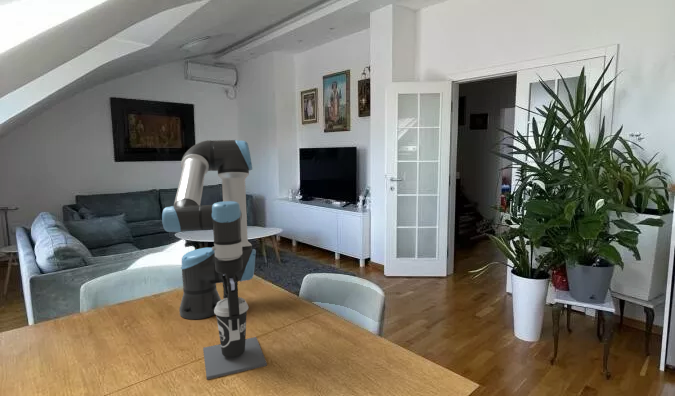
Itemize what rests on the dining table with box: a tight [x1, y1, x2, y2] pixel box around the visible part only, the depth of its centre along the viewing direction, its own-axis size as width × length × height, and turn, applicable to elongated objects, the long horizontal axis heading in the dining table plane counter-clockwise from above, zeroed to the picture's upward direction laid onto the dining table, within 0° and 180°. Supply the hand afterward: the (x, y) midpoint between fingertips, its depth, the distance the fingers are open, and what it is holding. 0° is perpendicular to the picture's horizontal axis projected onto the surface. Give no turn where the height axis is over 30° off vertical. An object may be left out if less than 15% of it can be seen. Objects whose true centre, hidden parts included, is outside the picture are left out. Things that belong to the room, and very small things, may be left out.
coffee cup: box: [214, 296, 249, 357], centre depth 108 cm, size 10×10×15 cm
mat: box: [202, 336, 268, 381], centre depth 109 cm, size 16×16×1 cm
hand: (232, 331), depth 108 cm, fingers closed on coffee cup, 9 cm apart
